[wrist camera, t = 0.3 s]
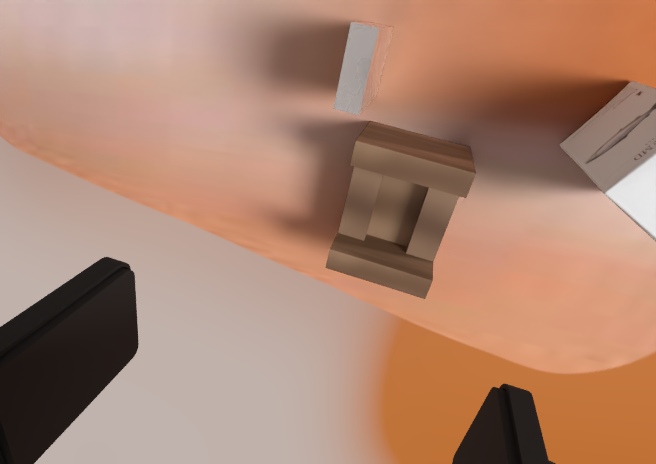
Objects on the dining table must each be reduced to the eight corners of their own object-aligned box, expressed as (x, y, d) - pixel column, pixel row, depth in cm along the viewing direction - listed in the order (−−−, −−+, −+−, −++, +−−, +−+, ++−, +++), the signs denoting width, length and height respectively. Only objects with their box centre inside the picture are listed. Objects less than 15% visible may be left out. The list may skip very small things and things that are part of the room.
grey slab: (372, 22, 37) (351, 21, 28) (393, 27, 36) (379, 28, 28) (357, 90, 40) (333, 108, 31) (376, 95, 39) (358, 115, 31)
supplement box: (631, 77, 34) (721, 102, 23) (692, 135, 35) (808, 186, 24) (555, 143, 37) (601, 193, 27) (611, 195, 38) (679, 263, 27)
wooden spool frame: (370, 120, 41) (355, 140, 34) (470, 147, 39) (475, 173, 32) (342, 231, 47) (325, 267, 40) (427, 257, 46) (425, 299, 39)
